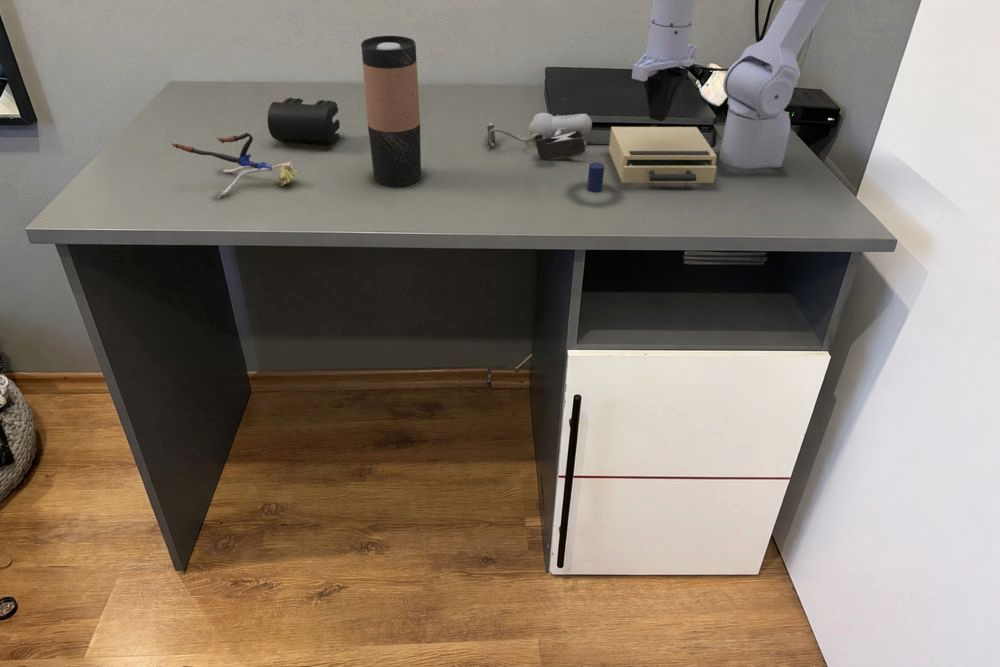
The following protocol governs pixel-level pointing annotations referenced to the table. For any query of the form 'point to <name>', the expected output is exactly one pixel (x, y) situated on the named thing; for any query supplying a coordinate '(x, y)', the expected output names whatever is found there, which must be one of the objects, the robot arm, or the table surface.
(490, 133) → the clip-on lamp
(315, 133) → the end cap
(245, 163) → the spliced wire bundle
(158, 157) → the table surface
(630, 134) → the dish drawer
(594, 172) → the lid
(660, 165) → the wooden drawer
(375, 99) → the travel mug
